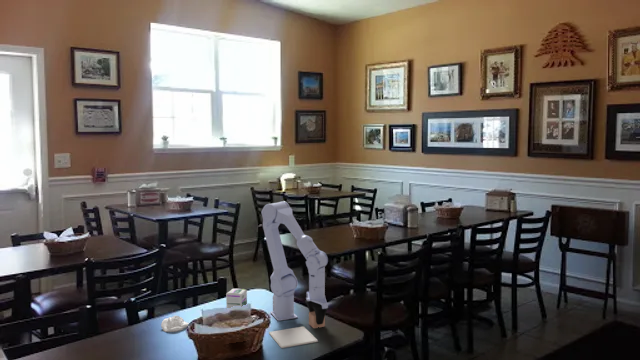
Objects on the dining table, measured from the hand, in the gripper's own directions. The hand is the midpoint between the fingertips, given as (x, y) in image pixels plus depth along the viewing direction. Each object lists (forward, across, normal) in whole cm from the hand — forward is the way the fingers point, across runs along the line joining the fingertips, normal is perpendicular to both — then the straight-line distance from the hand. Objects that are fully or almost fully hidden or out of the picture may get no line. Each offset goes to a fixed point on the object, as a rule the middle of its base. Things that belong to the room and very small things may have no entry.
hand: (316, 321), depth 187 cm
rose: (+2, -20, -48) cm, 52 cm away
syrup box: (+2, -8, -28) cm, 29 cm away
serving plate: (+1, +7, -12) cm, 14 cm away
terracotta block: (+1, 0, 0) cm, 1 cm away
